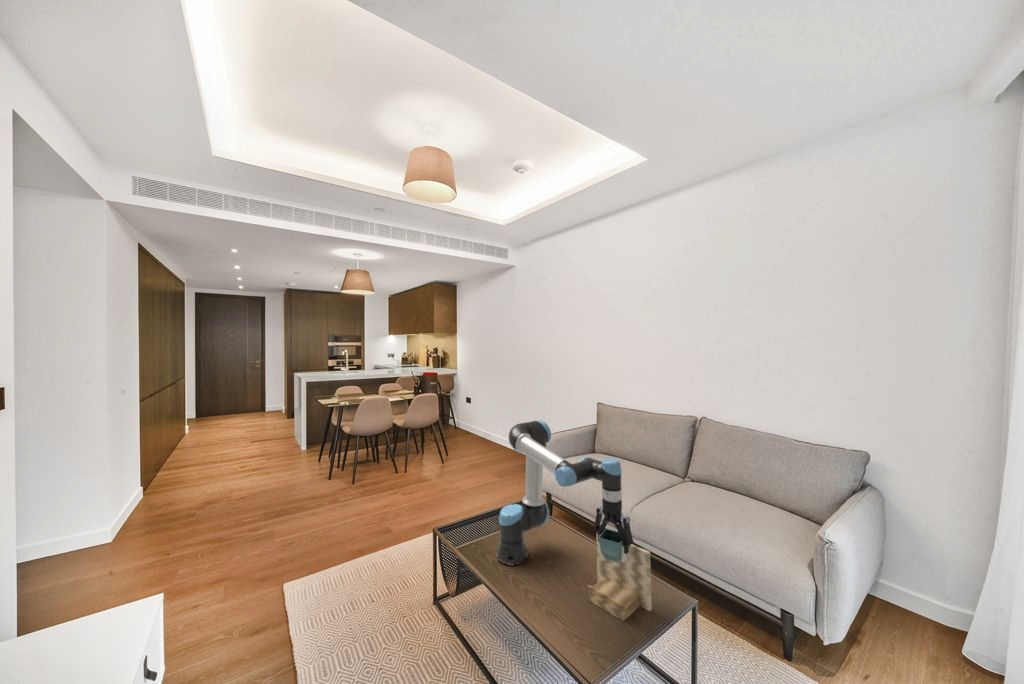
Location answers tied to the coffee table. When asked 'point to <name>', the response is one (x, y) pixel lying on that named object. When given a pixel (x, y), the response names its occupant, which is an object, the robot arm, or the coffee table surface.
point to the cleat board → (622, 583)
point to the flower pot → (610, 545)
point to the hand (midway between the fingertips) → (613, 555)
